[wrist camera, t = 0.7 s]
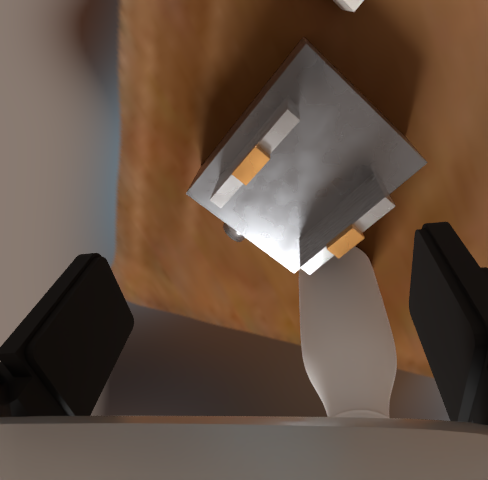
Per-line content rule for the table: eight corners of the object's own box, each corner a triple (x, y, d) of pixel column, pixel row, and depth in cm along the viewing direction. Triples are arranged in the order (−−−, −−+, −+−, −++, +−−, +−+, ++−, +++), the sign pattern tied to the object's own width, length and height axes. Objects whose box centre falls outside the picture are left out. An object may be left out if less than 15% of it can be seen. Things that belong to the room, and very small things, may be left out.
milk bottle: (288, 251, 39) (286, 436, 22) (360, 230, 37) (418, 419, 20) (311, 302, 43) (324, 494, 26) (378, 285, 40) (440, 486, 24)
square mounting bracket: (303, 36, 28) (309, 51, 19) (405, 137, 31) (450, 190, 22) (189, 180, 36) (156, 239, 27) (280, 249, 39) (277, 321, 30)
